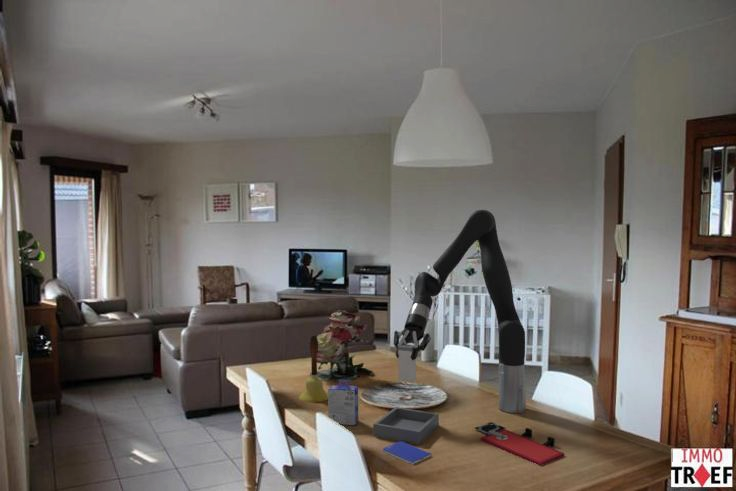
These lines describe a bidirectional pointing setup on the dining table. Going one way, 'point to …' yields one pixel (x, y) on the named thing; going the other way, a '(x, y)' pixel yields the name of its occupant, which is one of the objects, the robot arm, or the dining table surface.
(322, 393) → the handbell
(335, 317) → the rose bouquet
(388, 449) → the hard drive
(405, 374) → the grey block
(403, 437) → the tray
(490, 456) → the dining table surface
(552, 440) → the red board with handle
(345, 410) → the ink cartridge box
